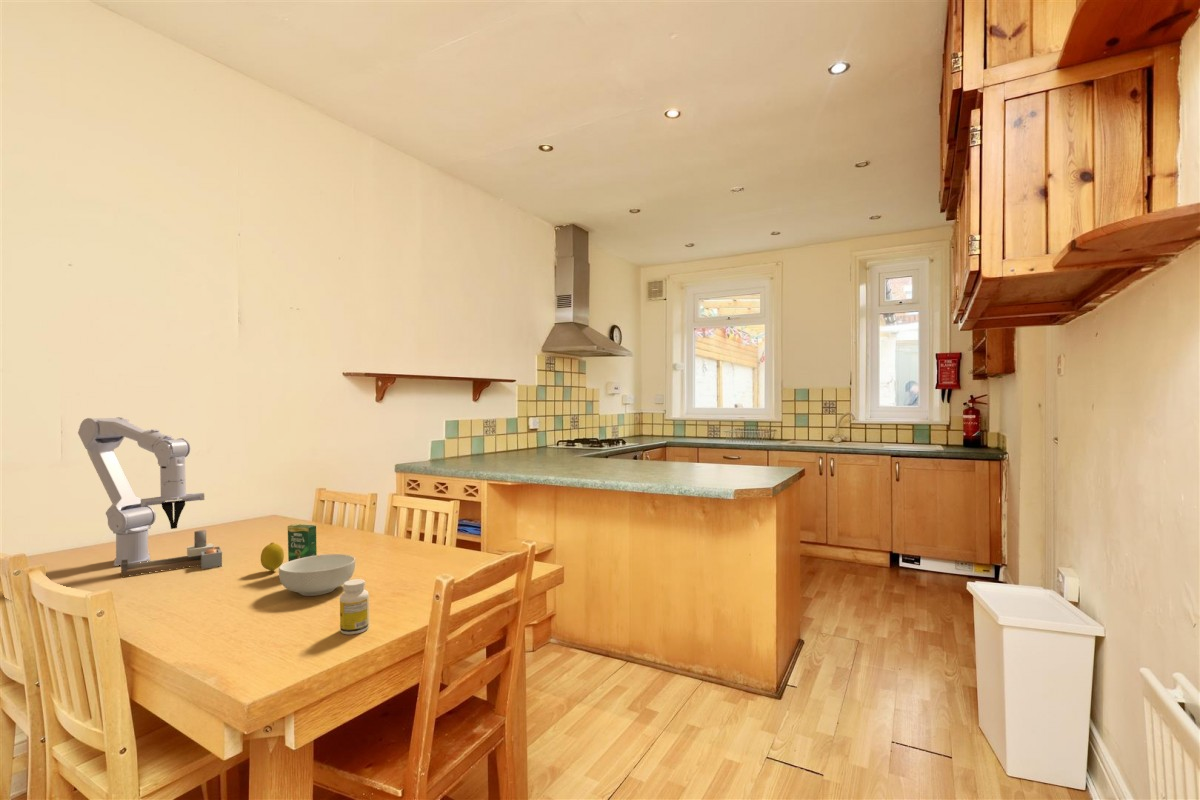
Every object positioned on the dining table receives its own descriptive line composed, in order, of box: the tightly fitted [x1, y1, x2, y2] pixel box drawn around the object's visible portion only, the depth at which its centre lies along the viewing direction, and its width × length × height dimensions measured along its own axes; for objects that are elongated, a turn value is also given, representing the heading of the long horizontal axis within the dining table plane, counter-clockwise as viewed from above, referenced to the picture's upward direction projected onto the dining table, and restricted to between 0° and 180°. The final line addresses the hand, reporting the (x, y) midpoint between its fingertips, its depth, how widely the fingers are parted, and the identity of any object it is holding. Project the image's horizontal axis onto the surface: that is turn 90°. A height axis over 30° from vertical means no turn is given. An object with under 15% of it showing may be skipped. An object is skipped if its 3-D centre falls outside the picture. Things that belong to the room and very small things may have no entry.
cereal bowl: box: [278, 553, 356, 597], centre depth 136 cm, size 17×17×7 cm
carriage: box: [186, 529, 215, 557], centre depth 160 cm, size 5×6×6 cm
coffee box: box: [287, 523, 318, 562], centre depth 150 cm, size 8×3×13 cm, turn 68°
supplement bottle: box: [339, 578, 370, 636], centre depth 112 cm, size 5×5×10 cm
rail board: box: [120, 546, 221, 578], centre depth 156 cm, size 6×22×4 cm, turn 129°
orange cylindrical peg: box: [206, 549, 217, 554], centre depth 157 cm, size 2×2×4 cm
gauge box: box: [200, 548, 223, 570], centre depth 157 cm, size 5×5×4 cm
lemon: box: [260, 542, 285, 572], centre depth 152 cm, size 6×6×8 cm
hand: (173, 528), depth 159 cm, fingers closed
